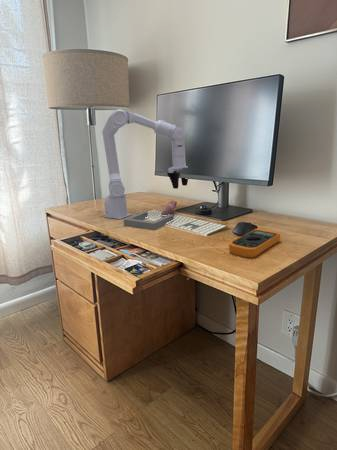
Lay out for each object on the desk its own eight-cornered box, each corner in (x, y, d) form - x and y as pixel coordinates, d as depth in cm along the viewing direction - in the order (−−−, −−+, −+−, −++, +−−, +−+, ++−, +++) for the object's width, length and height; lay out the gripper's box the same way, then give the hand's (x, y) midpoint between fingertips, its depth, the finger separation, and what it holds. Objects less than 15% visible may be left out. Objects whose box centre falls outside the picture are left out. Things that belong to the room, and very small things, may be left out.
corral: (124, 225, 123) (123, 219, 123) (144, 217, 134) (143, 211, 133) (154, 230, 115) (154, 223, 114) (173, 221, 125) (173, 215, 125)
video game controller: (169, 220, 132) (176, 206, 130) (159, 215, 133) (166, 201, 130) (173, 214, 142) (180, 200, 139) (164, 210, 142) (170, 196, 139)
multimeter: (225, 254, 91) (225, 242, 90) (256, 237, 103) (256, 227, 102) (252, 261, 85) (252, 249, 84) (281, 242, 97) (281, 231, 96)
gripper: (177, 157, 128) (179, 190, 132) (194, 154, 139) (196, 184, 143) (163, 157, 132) (165, 189, 136) (181, 154, 143) (182, 183, 147)
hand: (180, 186), depth 140 cm, fingers open, 7 cm apart
